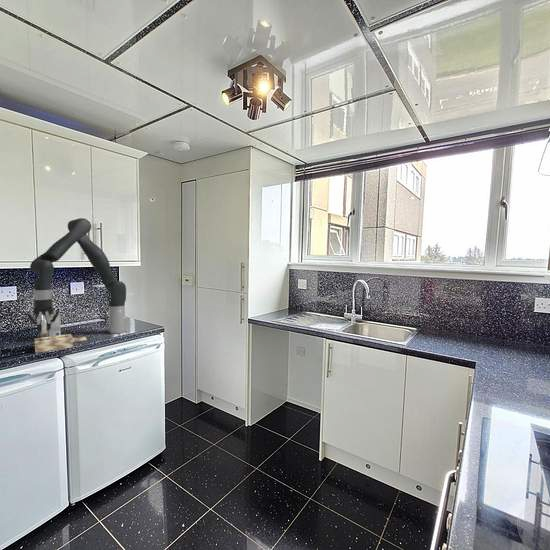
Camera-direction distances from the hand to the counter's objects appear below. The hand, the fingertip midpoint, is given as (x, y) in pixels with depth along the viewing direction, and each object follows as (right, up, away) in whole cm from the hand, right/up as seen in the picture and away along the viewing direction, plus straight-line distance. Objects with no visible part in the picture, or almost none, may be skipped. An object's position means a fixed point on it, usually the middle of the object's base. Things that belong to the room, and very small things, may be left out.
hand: (44, 330), depth 158 cm
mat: (+6, -9, +18) cm, 21 cm away
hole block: (+3, -10, +3) cm, 11 cm away
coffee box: (-11, -8, +19) cm, 23 cm away
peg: (0, -3, 0) cm, 3 cm away
